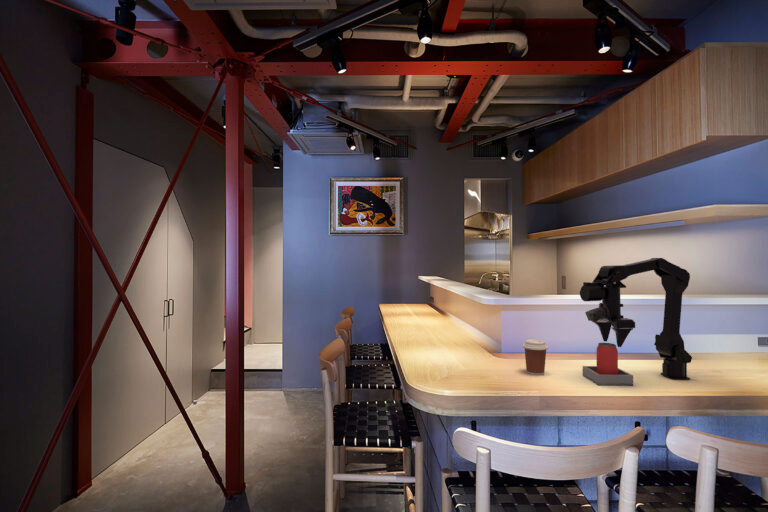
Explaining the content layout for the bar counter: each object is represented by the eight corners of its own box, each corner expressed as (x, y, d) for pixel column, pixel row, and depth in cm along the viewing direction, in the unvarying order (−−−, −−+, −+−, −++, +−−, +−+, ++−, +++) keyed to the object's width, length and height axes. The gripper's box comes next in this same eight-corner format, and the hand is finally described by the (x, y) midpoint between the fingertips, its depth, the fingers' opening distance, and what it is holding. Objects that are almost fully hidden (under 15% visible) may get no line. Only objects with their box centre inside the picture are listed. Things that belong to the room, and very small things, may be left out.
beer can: (620, 381, 136) (620, 346, 136) (600, 380, 138) (600, 345, 138) (613, 376, 143) (613, 342, 143) (593, 374, 144) (593, 341, 144)
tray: (614, 375, 146) (614, 366, 146) (633, 385, 134) (633, 375, 134) (582, 375, 146) (582, 366, 146) (598, 385, 135) (598, 375, 135)
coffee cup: (544, 369, 154) (543, 338, 154) (551, 376, 145) (551, 343, 145) (520, 369, 155) (519, 338, 155) (526, 375, 146) (525, 343, 146)
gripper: (576, 298, 151) (577, 339, 151) (602, 303, 133) (603, 350, 133) (606, 297, 151) (606, 338, 151) (635, 303, 133) (636, 350, 132)
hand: (612, 344), depth 142 cm, fingers open, 9 cm apart
